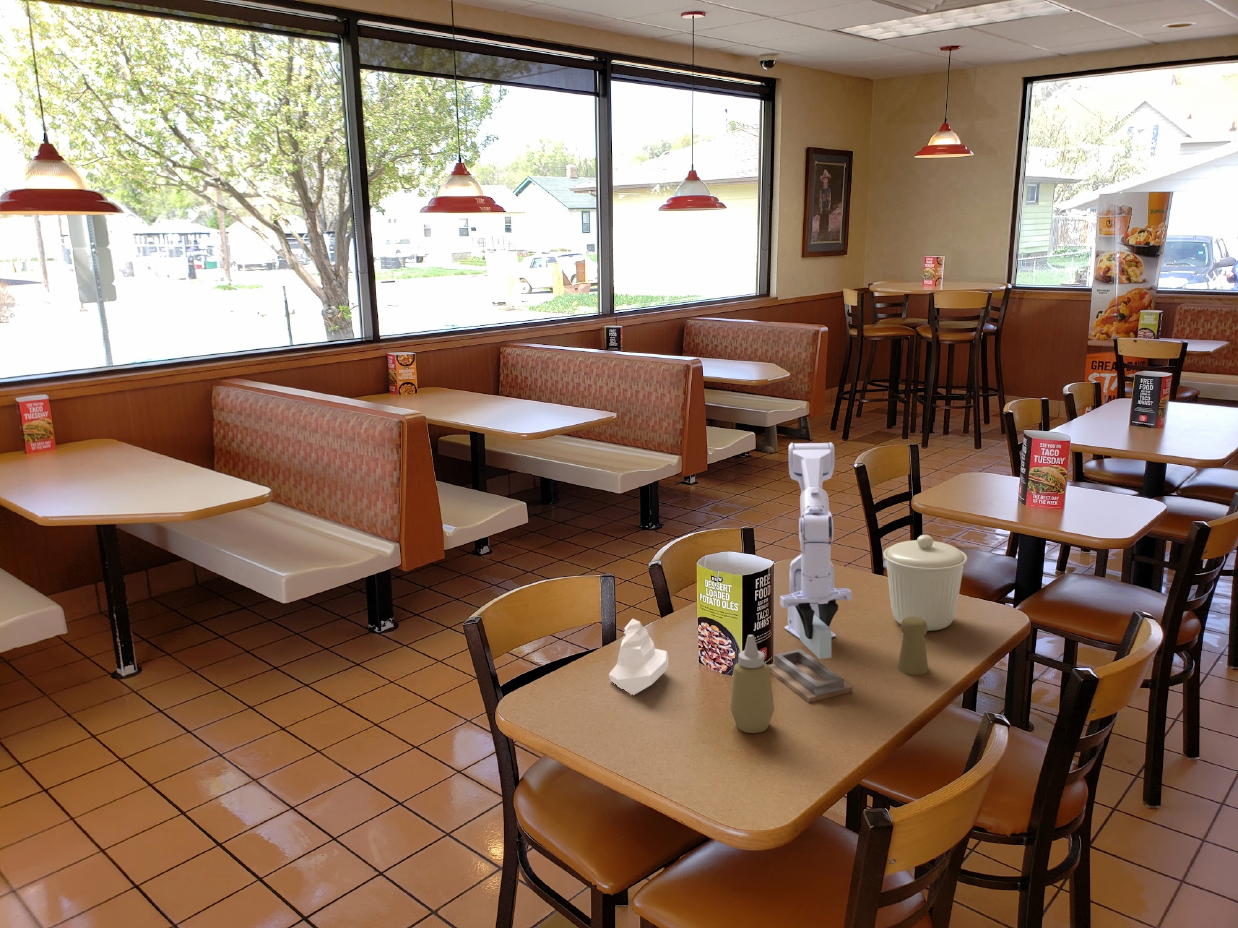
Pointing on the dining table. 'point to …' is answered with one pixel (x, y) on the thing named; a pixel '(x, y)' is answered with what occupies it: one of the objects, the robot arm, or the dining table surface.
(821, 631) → the pale blue rectangular brick
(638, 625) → the soft serve ice cream
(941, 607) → the canister
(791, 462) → the robot arm
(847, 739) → the dining table surface
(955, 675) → the dining table surface
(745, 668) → the squeeze bottle
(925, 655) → the cork
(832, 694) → the track
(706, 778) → the dining table surface
